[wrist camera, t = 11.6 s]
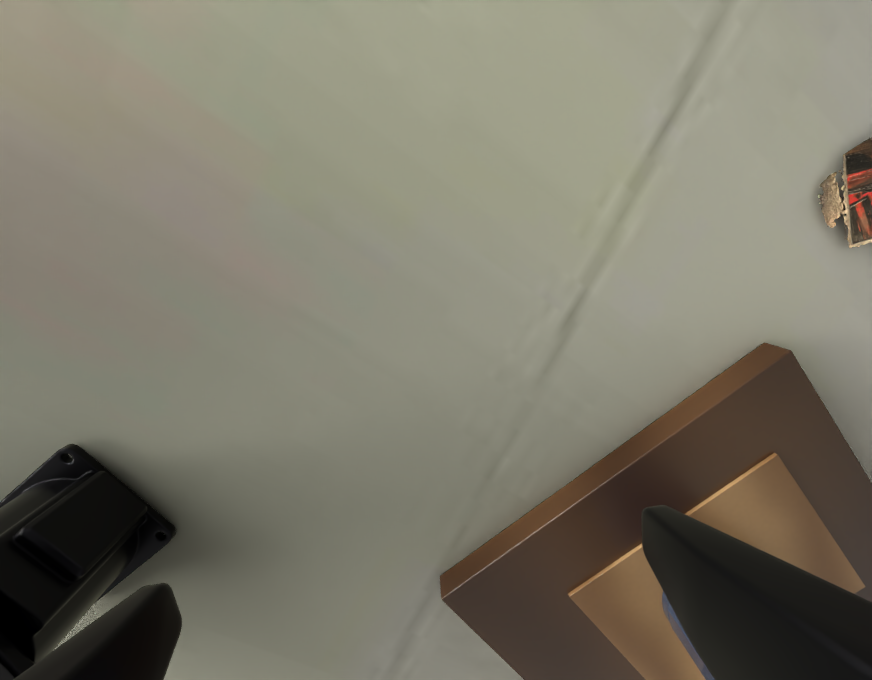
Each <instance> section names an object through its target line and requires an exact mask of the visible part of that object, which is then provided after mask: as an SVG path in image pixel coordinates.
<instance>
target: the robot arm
mask: <svg viewBox="0 0 872 680" xmlns="http://www.w3.org/2000/svg"><path fill="white" fill-rule="evenodd" d="M68 454H70V455H71V456H72V458H73V459H72V458H70V457H69V455H68ZM641 518H642V547H643V551H644V554H645V557H646V559H647V561H648V563H649V565H650V567H651V568H652V570H653V572H654V574H655V576H656V578H657V580H658V582H659V584H660V585H661V587H662V589H663V591H664V593H665V595H666V597H667V599H668V601H669V603H670V604H671V606H672V608H673V610H674V612H675V614H676V616H677V618H678V620H679V622H680V623H681V625H682V627H683V629H684V631H685V633H686V634H687V636H688V638H689V640H690V642H691V643H692V645H693V646H694V648H695V650H696V651H697V653H698V655H699V656H700V658H701V659H702V661H703V662H704V664H705V666H706V667H707V669H708V670H709V672H710V673H711V675H712V676H713V678H714V679H715V680H872V602H871V601H869V600H866V599H864V598H862V597H860V596H858V595H856V594H854V593H852V592H849V591H847V590H845V589H843V588H841V587H839V586H837V585H835V584H832V583H830V582H828V581H826V580H824V579H822V578H820V577H817V576H815V575H813V574H811V573H809V572H807V571H805V570H803V569H800V568H798V567H796V566H794V565H792V564H790V563H788V562H786V561H783V560H781V559H779V558H777V557H775V556H773V555H771V554H769V553H766V552H764V551H762V550H760V549H758V548H756V547H754V546H752V545H749V544H747V543H745V542H743V541H741V540H739V539H737V538H734V537H732V536H730V535H728V534H726V533H724V532H722V531H720V530H717V529H715V528H713V527H711V526H709V525H707V524H705V523H703V522H700V521H698V520H696V519H694V518H692V517H690V516H688V515H686V514H683V513H681V512H679V511H677V510H675V509H673V508H671V507H668V506H666V505H658V506H652V507H646V508H644V509H643V511H642V516H641ZM161 532H163V533H165V535H164V534H162V533H161ZM175 534H176V529H175V527H174V526H173V525H172V524H171V523H170V522H169V521H168V520H166V519H165V518H164V517H163V516H162V515H160V514H159V513H158V512H157V511H156V510H155V509H153V508H152V507H151V506H150V505H149V504H147V503H146V502H145V501H144V500H143V499H141V498H140V497H139V496H138V495H137V494H136V493H134V492H133V491H132V490H131V489H130V488H128V487H127V486H126V485H125V484H124V483H123V482H121V481H120V480H119V479H118V478H117V477H115V476H114V475H113V474H112V473H111V472H109V471H108V470H107V469H106V468H105V467H104V466H102V465H101V464H100V463H99V462H98V461H96V460H95V459H94V458H93V457H92V456H90V455H89V454H88V453H87V452H86V451H85V450H83V449H82V448H81V447H79V446H78V445H74V444H70V445H67V446H65V447H63V448H62V449H60V450H58V451H57V452H56V453H55V454H54V455H52V456H51V457H50V458H49V459H48V460H47V461H46V462H45V463H43V464H42V465H41V466H40V467H39V468H38V469H37V470H36V471H34V472H33V473H32V474H31V475H30V476H29V477H28V478H27V479H25V480H24V481H23V482H22V483H21V484H20V485H19V486H18V487H16V488H15V489H14V490H13V491H12V492H11V493H10V494H9V495H7V496H6V497H5V498H4V499H3V500H2V501H1V502H0V680H163V679H164V676H165V674H166V671H167V668H168V665H169V663H170V660H171V657H172V654H173V652H174V649H175V646H176V643H177V641H178V638H179V635H180V632H181V627H182V618H181V614H180V611H179V608H178V605H177V603H176V600H175V597H174V594H173V591H172V589H171V587H170V586H169V585H168V584H166V583H160V584H154V585H148V586H144V587H142V588H140V589H139V590H137V591H136V592H134V593H133V594H132V595H130V596H129V597H127V598H126V599H125V600H123V601H122V602H120V603H119V604H118V605H116V606H115V607H113V608H112V609H111V610H109V611H108V612H107V613H105V614H104V615H102V616H101V617H100V618H98V619H97V620H95V621H94V622H93V623H91V624H90V625H88V626H87V627H86V628H84V629H83V630H81V631H80V632H79V633H77V634H76V635H75V636H73V637H72V638H70V639H69V640H68V641H66V642H65V643H63V644H62V645H61V646H59V647H58V648H56V649H55V650H54V648H55V647H56V646H57V645H58V644H59V643H60V642H61V640H62V639H63V638H64V637H65V636H66V635H67V634H68V633H69V631H70V630H71V629H72V628H73V627H74V626H75V625H76V623H77V622H78V621H79V620H80V619H81V618H82V617H83V615H84V614H85V613H86V612H87V611H88V610H89V609H90V607H91V606H92V605H93V604H94V603H95V602H96V601H98V600H99V599H100V598H101V597H102V596H104V595H105V594H106V593H107V592H109V591H110V590H111V589H112V588H114V587H115V586H116V585H117V584H118V583H120V582H121V581H122V580H123V579H125V578H126V577H127V576H128V575H130V574H131V573H132V572H133V571H134V570H136V569H137V568H138V567H139V566H141V565H142V564H143V563H144V562H146V561H147V560H148V559H149V558H150V557H152V556H153V555H154V554H155V553H157V552H158V551H159V550H160V549H162V548H163V547H164V546H165V545H166V544H168V543H169V542H170V540H171V539H172V538H173V537H174V535H175ZM53 650H54V651H53Z"/></svg>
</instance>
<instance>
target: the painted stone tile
mask: <svg viewBox="0 0 872 680" xmlns="http://www.w3.org/2000/svg"><path fill="white" fill-rule="evenodd" d="M843 160H844V163H843V168H844V171H843V172H844V174H843V175H842V178H843V182H844V183H845V184H844V186H843V187H842V188H841V190H843V191H845V192H844V194H843V195H844V199H845V200H843V198H842V200H843V202H842V201H841V198H840V196H839V188H838V183H837V181H836V182H835V176H836V174H837V172H834V173H833V174H832V175H829V176H828V177H827V179H826V180H825V181H824V182H822V183H821V184H820V187H822V188H823V191H824V193H823V195H821V194H819V195H817V196H818V198H820V199H819V200H820V201H821V202H820V203H819V204H823V207H822V208H821V209H822V211H821V212H823V214H824V218H825V221H826V223H827V225H829V226H830V228H833V227H834V226H835V225H836V223H835V222H834V219H837V218H839V217H840V213H841V214H843V216H845V213H846V215H847V216H845V217H844V219H845V220H844V222H845V224H846V225H847V227H848V230H849V231H848V238H847V240H848V241H849V244H848V245H849V248H852V247H859V246H860V245H864V244H867V243H872V137H871V138H869V139H868V140H866V141H864V142H863V143H861V144H860V145H858V146H856V147H855V148H853V149H852V150H850V151H848V152H847V153H845V154H844V155H843ZM840 171H841V170H839V173H840ZM841 174H842V173H841ZM834 182H835V183H834ZM819 189H820V188H819ZM844 204H845V207H846V210H843V209H844V208H843V207H844ZM827 227H828V226H827ZM845 239H846V238H845Z"/></svg>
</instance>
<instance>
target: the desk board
mask: <svg viewBox="0 0 872 680" xmlns="http://www.w3.org/2000/svg"><path fill="white" fill-rule="evenodd" d="M658 505H666V506H668V507H671V508H673V509H675V510H677V511H679V512H681V513H683V514H686V515H688V516H690V517H692V518H694V519H696V520H698V521H700V522H703V523H705V524H707V525H709V526H711V527H713V528H715V529H717V530H720V531H722V532H724V533H726V534H728V535H730V536H732V537H734V538H737V539H739V540H741V541H743V542H745V543H747V544H749V545H752V546H754V547H756V548H758V549H760V550H762V551H764V552H766V553H769V554H771V555H773V556H775V557H777V558H779V559H781V560H783V561H786V562H788V563H790V564H792V565H794V566H796V567H798V568H800V569H803V570H805V571H807V572H809V573H811V574H813V575H815V576H817V577H820V578H822V579H824V580H826V581H828V582H830V583H832V584H835V585H837V586H839V587H841V588H843V589H845V590H847V591H849V592H852V593H854V594H856V595H858V596H860V597H862V598H864V599H866V600H869V601H871V602H872V483H871V481H870V480H869V478H868V476H867V475H866V473H865V471H864V470H863V468H862V466H861V465H860V463H859V461H858V460H857V458H856V456H855V455H854V453H853V452H852V450H851V448H850V447H849V445H848V443H847V442H846V440H845V438H844V437H843V435H842V433H841V432H840V430H839V429H838V427H837V425H836V424H835V422H834V420H833V419H832V417H831V415H830V414H829V412H828V410H827V409H826V407H825V405H824V404H823V402H822V401H821V399H820V397H819V396H818V394H817V392H816V391H815V389H814V387H813V386H812V384H811V382H810V381H809V379H808V378H807V376H806V374H805V373H804V371H803V369H802V368H801V366H800V364H799V363H798V361H797V359H796V358H795V356H794V354H793V353H792V351H791V350H788V349H784V348H781V347H778V346H774V345H771V344H768V343H763V344H761V345H760V346H759V347H757V348H756V349H755V350H753V351H752V352H750V353H749V354H748V355H746V356H745V357H743V358H742V359H741V360H739V361H738V362H736V363H735V364H734V365H732V366H731V367H730V368H728V369H727V370H725V371H724V372H723V373H721V374H720V375H718V376H717V377H716V378H714V379H713V380H711V381H710V382H709V383H707V384H706V385H705V386H703V387H702V388H700V389H699V390H698V391H696V392H695V393H693V394H692V395H691V396H689V397H688V398H687V399H685V400H684V401H682V402H681V403H680V404H678V405H677V406H675V407H674V408H673V409H671V410H670V411H668V412H667V413H666V414H664V415H663V416H662V417H660V418H659V419H657V420H656V421H655V422H653V423H652V424H650V425H649V426H648V427H646V428H645V429H643V430H642V431H641V432H639V433H638V434H637V435H635V436H634V437H632V438H631V439H630V440H628V441H627V442H625V443H624V444H623V445H621V446H620V447H619V448H617V449H616V450H614V451H613V452H612V453H610V454H609V455H607V456H606V457H605V458H603V459H602V460H600V461H599V462H598V463H596V464H595V465H594V466H592V467H591V468H589V469H588V470H587V471H585V472H584V473H582V474H581V475H580V476H578V477H577V478H575V479H574V480H573V481H571V482H570V483H569V484H567V485H566V486H564V487H563V488H562V489H560V490H559V491H557V492H556V493H555V494H553V495H552V496H551V497H549V498H548V499H546V500H545V501H544V502H542V503H541V504H539V505H538V506H537V507H535V508H534V509H532V510H531V511H530V512H528V513H527V514H526V515H524V516H523V517H521V518H520V519H519V520H517V521H516V522H514V523H513V524H512V525H510V526H509V527H507V528H506V529H505V530H503V531H502V532H501V533H499V534H498V535H496V536H495V537H494V538H492V539H491V540H489V541H488V542H487V543H485V544H484V545H483V546H481V547H480V548H478V549H477V550H476V551H474V552H473V553H471V554H470V555H469V556H467V557H466V558H464V559H463V560H462V561H460V562H459V563H458V564H456V565H455V566H453V567H452V568H451V569H449V570H448V571H446V572H445V573H444V574H442V575H441V576H440V586H441V599H442V600H443V601H444V602H445V603H446V604H447V605H448V606H449V607H450V608H451V609H452V610H453V611H454V612H455V613H456V614H457V615H458V616H459V617H460V618H461V619H462V620H463V621H464V622H465V623H466V624H467V625H468V626H469V627H470V628H471V629H473V630H474V631H475V632H476V633H477V634H478V635H479V636H480V637H481V638H482V639H483V640H484V641H485V642H486V643H487V644H488V645H489V646H490V647H491V648H492V649H493V650H494V651H495V652H496V653H497V654H498V655H499V656H500V657H501V658H502V659H504V660H505V661H506V662H507V663H508V664H509V665H510V666H511V667H512V668H513V669H514V670H515V671H516V672H517V673H518V674H519V675H520V676H521V677H522V678H523V679H524V680H706V679H705V678H704V676H703V675H702V673H701V672H700V670H699V669H698V667H697V666H696V664H695V663H694V661H693V660H692V658H691V656H690V655H689V653H688V652H687V650H686V649H685V647H684V646H683V644H682V643H681V641H680V640H679V638H678V637H677V635H676V634H675V632H674V631H673V629H672V627H671V625H670V623H669V622H668V620H667V618H666V616H665V614H664V611H663V607H662V594H663V589H662V587H661V585H660V584H659V582H658V580H657V578H656V576H655V574H654V572H653V570H652V568H651V567H650V565H649V563H648V561H647V559H646V557H645V554H644V551H643V547H642V518H641V516H642V511H643V509H644V508H646V507H652V506H658Z"/></svg>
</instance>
